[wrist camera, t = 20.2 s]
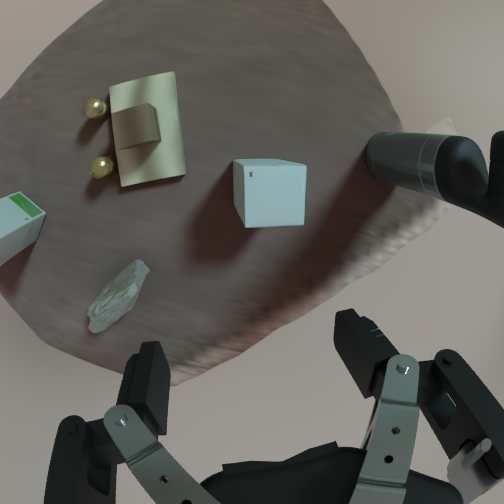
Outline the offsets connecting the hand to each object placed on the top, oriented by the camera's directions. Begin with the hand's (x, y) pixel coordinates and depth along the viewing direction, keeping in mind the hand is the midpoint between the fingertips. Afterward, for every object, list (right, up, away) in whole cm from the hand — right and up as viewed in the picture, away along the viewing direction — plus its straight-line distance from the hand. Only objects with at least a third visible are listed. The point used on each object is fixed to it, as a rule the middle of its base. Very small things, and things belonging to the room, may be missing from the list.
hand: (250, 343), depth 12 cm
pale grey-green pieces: (-16, +23, +25) cm, 37 cm away
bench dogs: (-22, +22, +24) cm, 39 cm away
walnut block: (-16, +22, +23) cm, 35 cm away
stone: (-23, -2, +33) cm, 40 cm away
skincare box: (-41, +11, +25) cm, 49 cm away
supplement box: (+1, +15, +30) cm, 34 cm away
